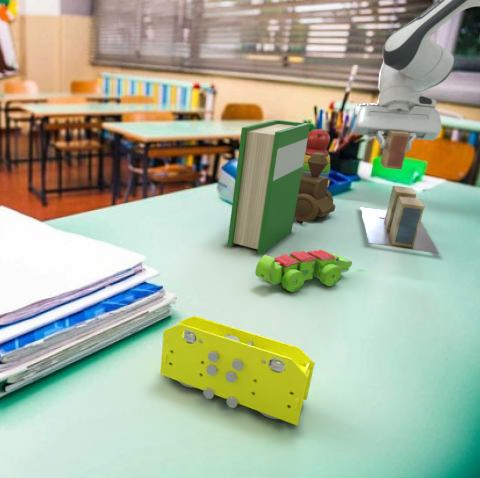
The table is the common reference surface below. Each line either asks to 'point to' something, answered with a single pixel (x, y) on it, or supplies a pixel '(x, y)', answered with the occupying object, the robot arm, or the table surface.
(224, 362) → the yellow toy chassis
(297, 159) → the hardback book
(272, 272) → the toy crocodile
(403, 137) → the tile
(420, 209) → the tile
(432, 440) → the table surface
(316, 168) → the wooden toy train
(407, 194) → the tile
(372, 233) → the word board
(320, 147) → the stacking bear
